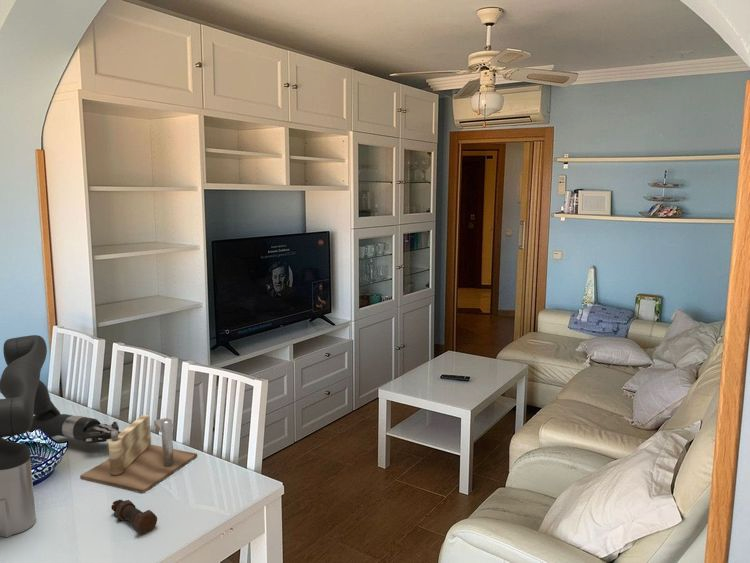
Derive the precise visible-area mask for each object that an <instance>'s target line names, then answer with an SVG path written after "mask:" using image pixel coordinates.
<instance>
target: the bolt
mask: <svg viewBox="0 0 750 563" xmlns="http://www.w3.org/2000/svg"><path fill="white" fill-rule="evenodd" d="M136 507H137V506H136V505H135V504H134V502H132V501H131V500H129V499H126V500H123V499H117V500H114V501H113V502H112V505H111V510H112V511H113V512H114V513H115V514H114V515H115V516H117V517H118V519H119V520H121V521H126V520H127V521H129V522H131V523H132V524H133V528H134V529H135V530H136V531H137V532H138V533H139V534H140V535H145V534H148V533H150V532H152V531H153V530H154V529H155V528H156V525H157V522H158V517H157V515H156V514H155V513H154V512H153V511H152V510H150V509H147V510H145V511H141V510H140V509H139V508H136Z"/></svg>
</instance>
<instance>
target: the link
mask: <svg viewBox="0 0 750 563" xmlns="http://www.w3.org/2000/svg"><path fill="white" fill-rule="evenodd" d="M150 418H151V417H150V414H142V415H141V416H139V417H138V418H137V419H136V420H134V421H133V422H131V424H129V425H128V426H127V427H125V428H124V429H123V430H122V431H120V432H121V433H119V434H118V440H115V441H113V440H112V439H110V440H107V442H108V454H109V455H108V456H109V458H108V459H110V473H111V475H119V474H122V473H123V472H124V469H125V468H126V467H127V466H128V465H130V464H131V463H132V462H133V461H134V460H135V459H136V458H137V457H138V456H139V455H140V454H141V453H142V452H143V451H145V450H146V449H147V448H148V447H149V446H150V445H152V436H151V434H152V432H151V419H150Z"/></svg>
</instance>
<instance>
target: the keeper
mask: <svg viewBox="0 0 750 563" xmlns="http://www.w3.org/2000/svg"><path fill="white" fill-rule="evenodd" d="M153 422H154V427H155V428H156V429H157V430H158V432H159V433H161V447H162V449H163V466H164V467H170V466H173V465H174V458H173V449H174V441H173V431H174V428H175V427H174V423H173V422H172V419H170V418H168V417H165V418H159V419H154V420H153Z"/></svg>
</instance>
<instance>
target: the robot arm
mask: <svg viewBox="0 0 750 563" xmlns="http://www.w3.org/2000/svg"><path fill="white" fill-rule="evenodd" d="M2 350H3V351H2V352H3V357H4V358H3V359H4V361H5V363H6V367H4V370H3V371H2V373H1V375H0V376H1V377H0V393H1V395H2V396H3V397H4V398H0V537H3V538H9V537H10V536H13V535H16V534H20V533H22V532H26V530H29V529H30V528H31V527H32V526H34V525H35V524H36V521H37V516H36V505H35V504H36V503H35V496H34V495H35V494H34V484H33V473H32V462H31V451H30V448H29V446H28V445H27V444H25V443H21V442H15V441H10V440H8V439H5V438H8V437H14V436H15V437H16V436H20V435H24V434H26V433H27V432H28V433H29V432H33V431H34V430H35V429H41V430H43V431H44V432H46V433H47V434H48V435H49V436H50V437H57V436H60V437H63V438H68V439H71V440H74V441H75V440H76V441H79V442H80V441H81V442H85V444H97V443H104V442H106V443H107V442H108V441H109V440H110V439H112V438H111V431H114V430H117V431H118V434H119V433H121V432H122V431H119V430H120V429H119V424H118V422H117V421H112V423H111V424H107V423H101V422H100V420H98V419H96V418H93V417H87V416H83V415H72V414H67V413H61V412H60V410H58V408H57V407H56V405H55V404H54V403H53V401H52V400H51V397H50V396H51V395H50V393H49V390H48V387H47V386H46V384H45V383H44V382H43V381H42V380H41V371H42V369H43V365H44V363H45V361H46V359H47V358H46V357H47V354H48V353H47V352H48V349H47V343H46V340H45V339H44V337H42V335H39V334H38V335H37V334H33V335H25V336H17V337H12V338H7V339H6V340H4V343H3V348H2Z"/></svg>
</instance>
